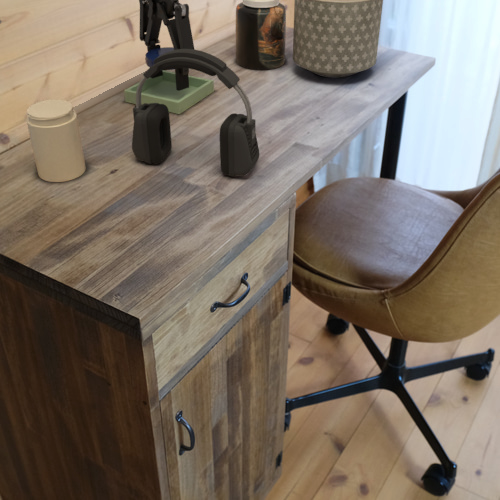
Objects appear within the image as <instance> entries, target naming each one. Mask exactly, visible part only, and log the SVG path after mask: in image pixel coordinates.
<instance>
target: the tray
mask: <svg viewBox="0 0 500 500" xmlns="http://www.w3.org/2000/svg"><path fill="white" fill-rule="evenodd" d="M188 77H189V88H186V89H183V90H180V91H178V90H176V77H175V71H171V70H165V71H164V70H163V75H162V76H159V77H156V78H148V79H146V81H145V83H144V85H143V87H142V92H141V104H142V105H143V104H144V103H147V104H150V103H159V104H164V105H166V106H167V108H168V111H169V113H172V114H176V115H180V114H183V113H184V112H185V111H187V110H189V109H190V108H191V107H193V106H194V105H196V104H197V103H199V102H201V101H202V100H203V99H204V98H206V97H208V96H209V95H212V93H214V92H215V83H214V81H215V80H213V79H209V78H203V77H199V76H194V75H189V74H188ZM139 83H140V81H138V82H137V83H135V84H133V85H131V86H129V87H127V88H126V89H124V90H123V93H124V103H130V104H134V105H136V91H137V87H138V85H139ZM138 103H139V102H138Z"/></svg>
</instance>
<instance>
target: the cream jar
mask: <svg viewBox="0 0 500 500" xmlns="http://www.w3.org/2000/svg"><path fill="white" fill-rule="evenodd" d="M26 116H27V117H26V121H25V122H26V126H27V129H28V135H29V139H30V144H31V148H32V152H33V157H34V161H35V166H36V170H37V174H38V177H39V178H40V179H41V180H43V181H46V182H50V183H62V182H68V181H72V180H73V181H74V180H75V179H78V178H79V177H81V176H82V175H83V174H85V172H86V169H87V167H86V161H85V155H84V150H83V144H82V137H81V131H80V126H79V121H78V114H77V112H76V111H75V110H74V106H73V104H72V103H71V102H69V100H64V99H46V100H41V101H37V102H35V103H33V104H31V105H30V106H28V107H27V109H26Z"/></svg>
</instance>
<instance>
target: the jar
mask: <svg viewBox="0 0 500 500" xmlns="http://www.w3.org/2000/svg"><path fill="white" fill-rule="evenodd" d="M286 31H287V11H286V7H285V5H284V4H282V3H281V2H280V0H242V1H241V2H240V3H238V4H237V5H236V6H235V62H236V64H237V65H239V66H240V67H243V68H246V69H250V70H259V71H260V70H261V71H263V70H264V71H265V70H274V69H277V68H280V67H282V66H283V65H284V64H285V61H286V38H287V37H286Z"/></svg>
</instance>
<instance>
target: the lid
mask: <svg viewBox="0 0 500 500" xmlns="http://www.w3.org/2000/svg"><path fill="white" fill-rule="evenodd" d="M173 50H174V47H173V46H171V47H170V46H169V47H167V46H165V47H161V48H157V49H153V50H150V51H147V52H146V53H145V58H144V59H145V64H146V66H147V67H148V68H150V67H152V66H153V65H154V60H155V59H156V58H157V57H159V56H160V55H162V54H164V53H166V52H169V51H173ZM161 70H162V69H161ZM172 70H173V71H175V69H170V70H169V71H172Z"/></svg>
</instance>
